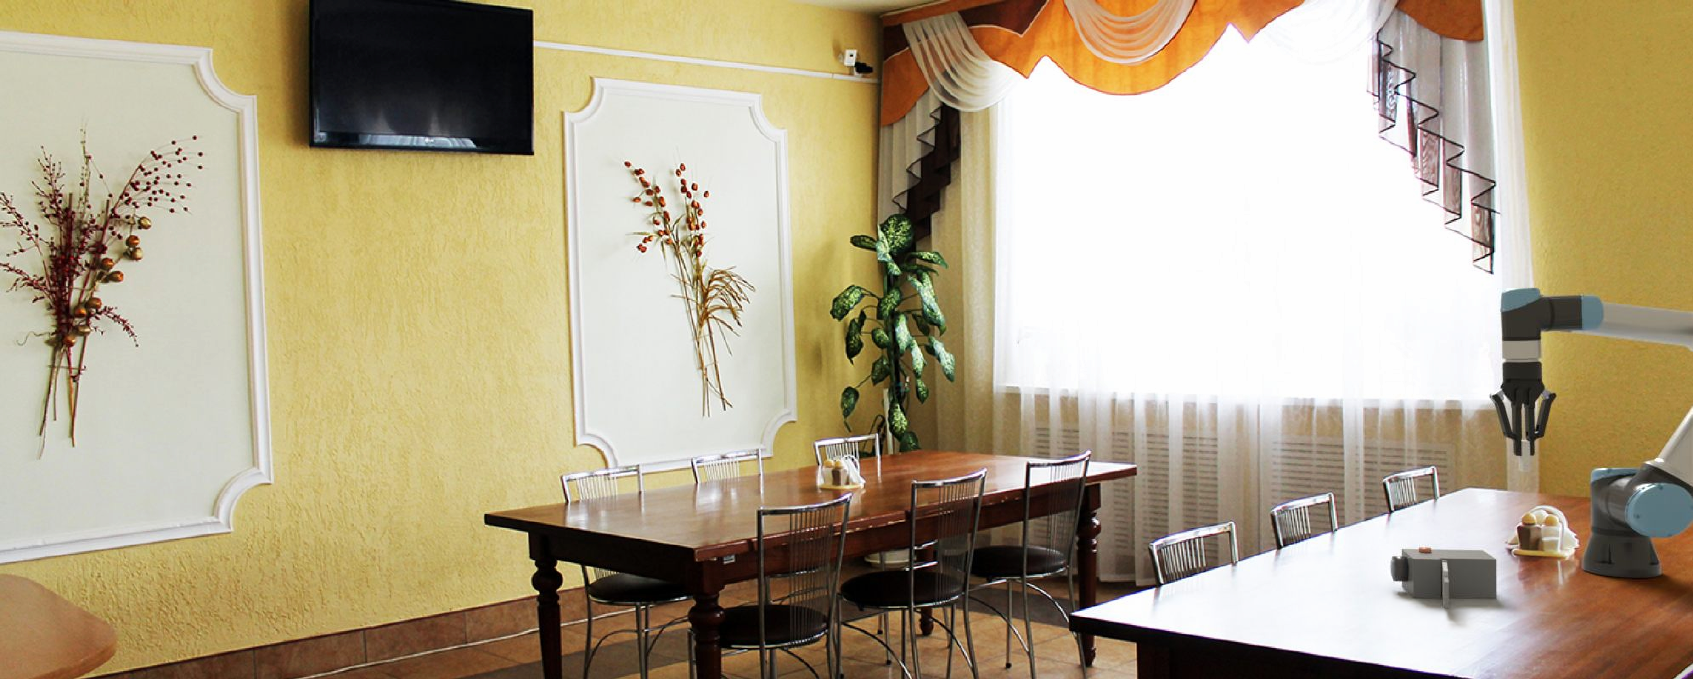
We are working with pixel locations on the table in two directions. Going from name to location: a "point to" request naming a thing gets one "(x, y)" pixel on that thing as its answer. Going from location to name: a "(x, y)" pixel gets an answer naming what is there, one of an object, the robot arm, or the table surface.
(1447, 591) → the side door
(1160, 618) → the table surface
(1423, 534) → the table surface
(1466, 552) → the housing
